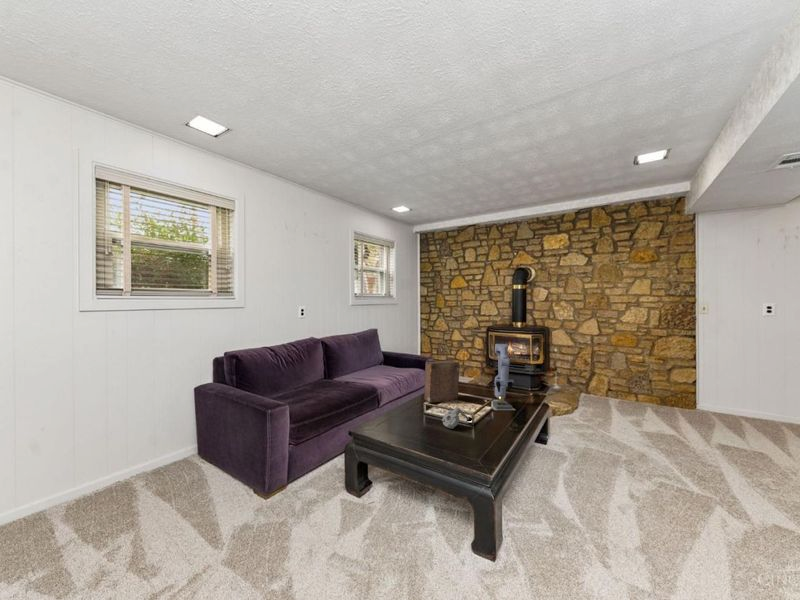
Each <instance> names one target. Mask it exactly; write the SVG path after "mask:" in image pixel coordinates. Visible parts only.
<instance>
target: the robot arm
mask: <svg viewBox="0 0 800 600" xmlns="http://www.w3.org/2000/svg"><path fill="white" fill-rule="evenodd" d="M508 351H509V345H508V344H506V343H505V344H504V343H495V345H494V353H495V355H497V361H498V363H497V367H498V368H497V369H498V370H497V371H498V373H497V375H495V377H494V386H495V387H494V396H495V397H496V398H497V399H499V395H504V399H506V391H507V393H510V391H511V389H512V386H513V385H514V383H515V380H514V379H510V378H509V373H510V372H509V371H510V369H509V368H510V365H511V360H510V357H509V356H508ZM506 389H507V390H506Z"/></svg>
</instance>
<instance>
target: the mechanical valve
mask: <svg viewBox="0 0 800 600" xmlns="http://www.w3.org/2000/svg"><path fill="white" fill-rule="evenodd" d="M460 414H461V415H462V416H463V417H464V419H465V420H466V422H467V421H471V420H472V419H473V418H472V416H468V415H466V413H464V411H462V409H461V408H460V407H458V405H457V406H455V407H454V409H453V410H448V411H447V412H446V413H445V414H444V415H443V417H442V419H441V421H442V424H443V425H444V426H445V427H446V428H448V429H451V430H454V429H455V427H457V426H458V425H459V422H460V417H459V415H460Z"/></svg>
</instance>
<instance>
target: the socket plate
mask: <svg viewBox="0 0 800 600" xmlns="http://www.w3.org/2000/svg"><path fill="white" fill-rule="evenodd" d="M487 400H488V399H483V401H484V402H485V403H486V402H487ZM492 400H493V408H492V409H493V410H494V411H516V409H515V408H514V407H513V406H512V405H511V404H509V403H508V401H505V400H504V405H498V402H499V399H492Z"/></svg>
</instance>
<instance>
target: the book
mask: <svg viewBox="0 0 800 600" xmlns="http://www.w3.org/2000/svg"><path fill="white" fill-rule="evenodd" d="M424 370H425V371H424V372H425V373H424V394H423V396H424V397H423V398H424V399H423V400H425V401H426V402H427V403H429V402H431V403H430V404H436V403H443V402H444V403H445V402H451V401H458V400H459V388H460V387H459V385H460V384H459V381H460V361H454V359H442V360H440V359H439V360H427V361H425V368H424Z"/></svg>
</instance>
